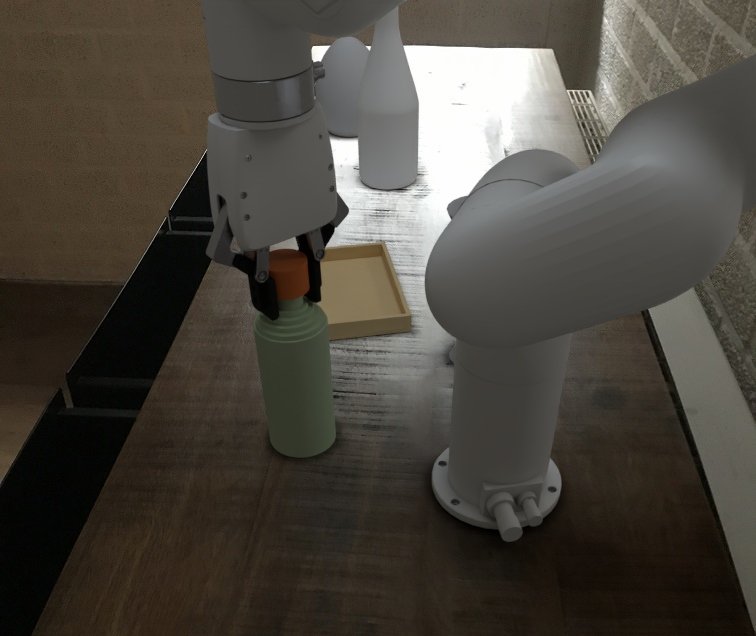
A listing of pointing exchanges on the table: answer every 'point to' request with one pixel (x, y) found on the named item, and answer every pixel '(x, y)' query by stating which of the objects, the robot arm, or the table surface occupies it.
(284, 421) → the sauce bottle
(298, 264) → the cap
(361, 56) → the decorative egg
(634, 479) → the table surface
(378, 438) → the table surface
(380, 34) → the wine bottle
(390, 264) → the tray
